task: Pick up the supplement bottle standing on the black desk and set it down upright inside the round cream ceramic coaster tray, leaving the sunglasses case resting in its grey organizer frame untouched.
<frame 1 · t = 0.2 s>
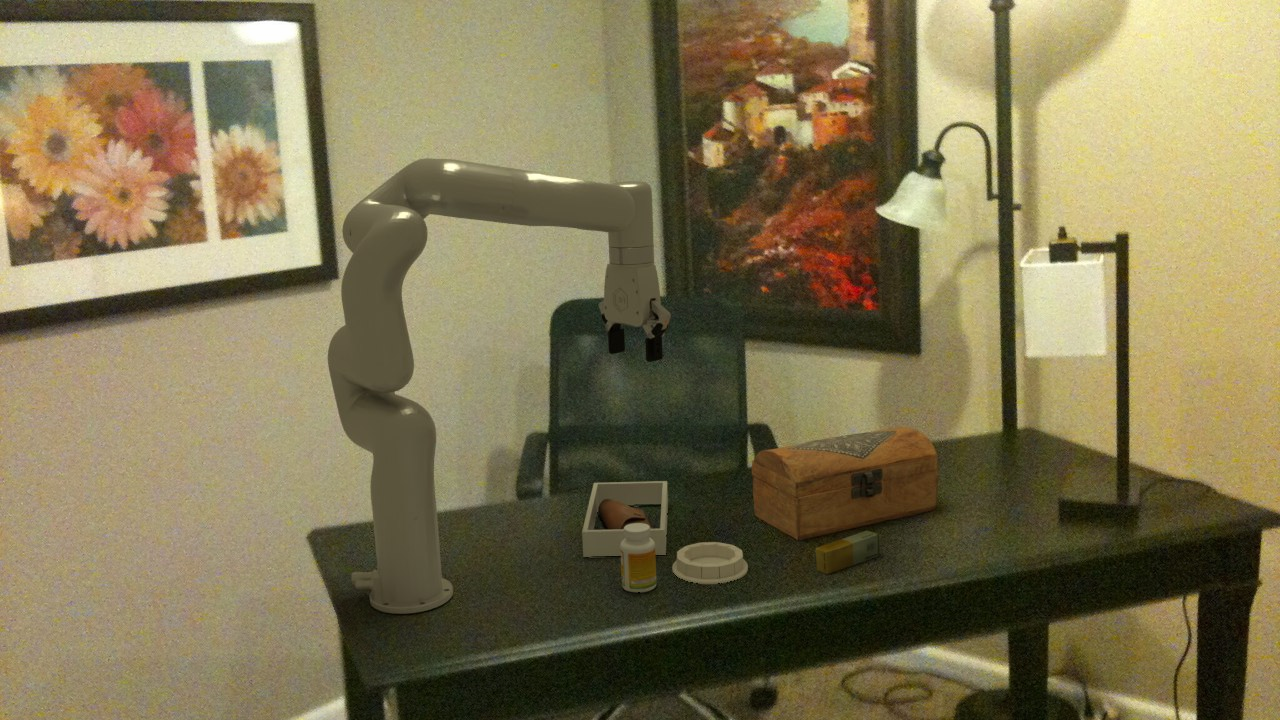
hand: (635, 356, 204), 31 cm above the table, tool pointing down, fingers open, 9 cm apart
supplement bottle: (639, 587, 186), on the table
sunglasses case: (629, 533, 211), resting in organizer frame
medication box: (848, 564, 192), on the table
coaster tray: (710, 569, 191), on the table
organizer frame: (628, 529, 210), on the table
wooden box: (846, 515, 215), on the table
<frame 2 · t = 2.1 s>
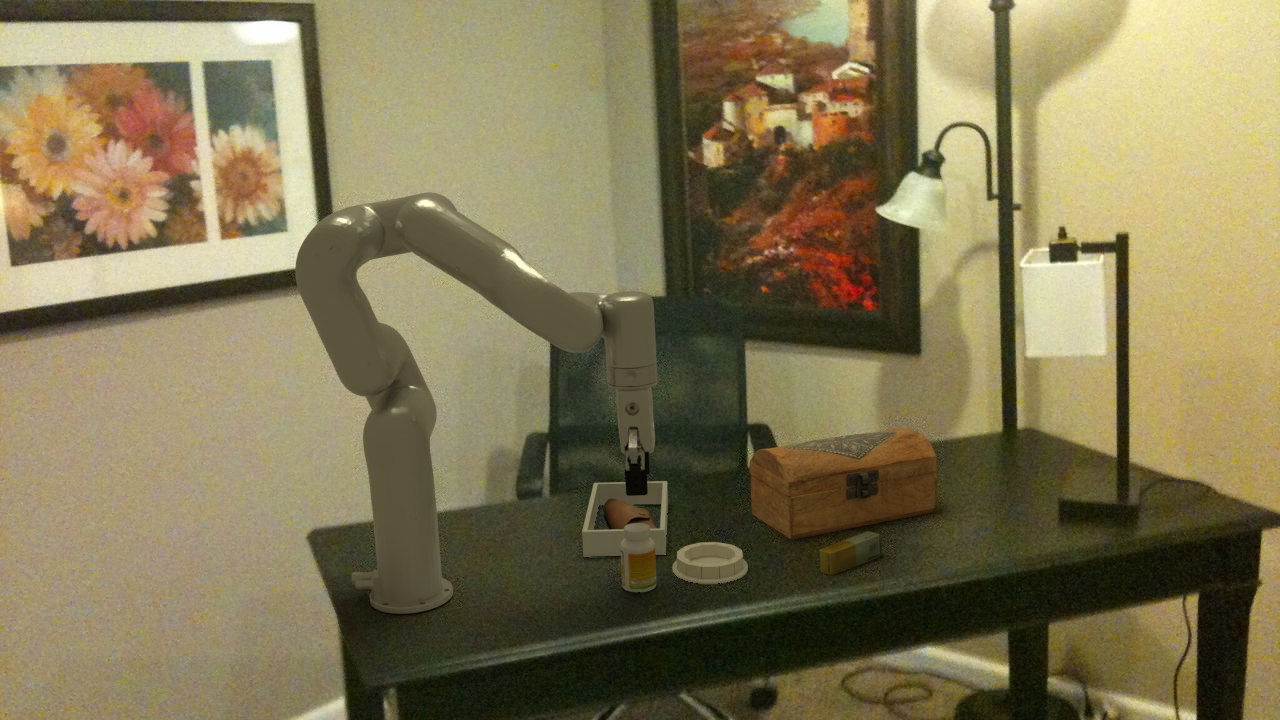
hand: (638, 484, 182), 16 cm above the table, tool pointing down, fingers open, 9 cm apart
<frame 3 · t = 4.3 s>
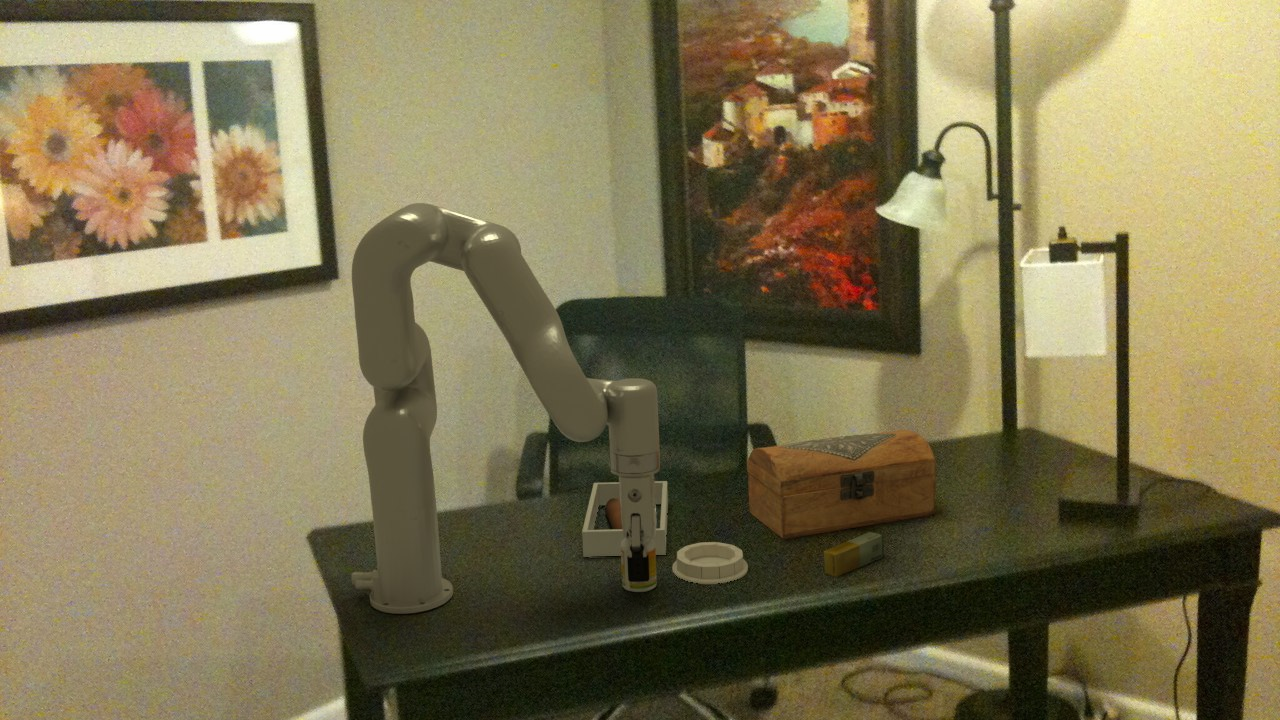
hand: (639, 571, 185), 2 cm above the table, tool pointing down, fingers closed on supplement bottle, 5 cm apart
supplement bottle: (639, 587, 186), on the table, touching gripper
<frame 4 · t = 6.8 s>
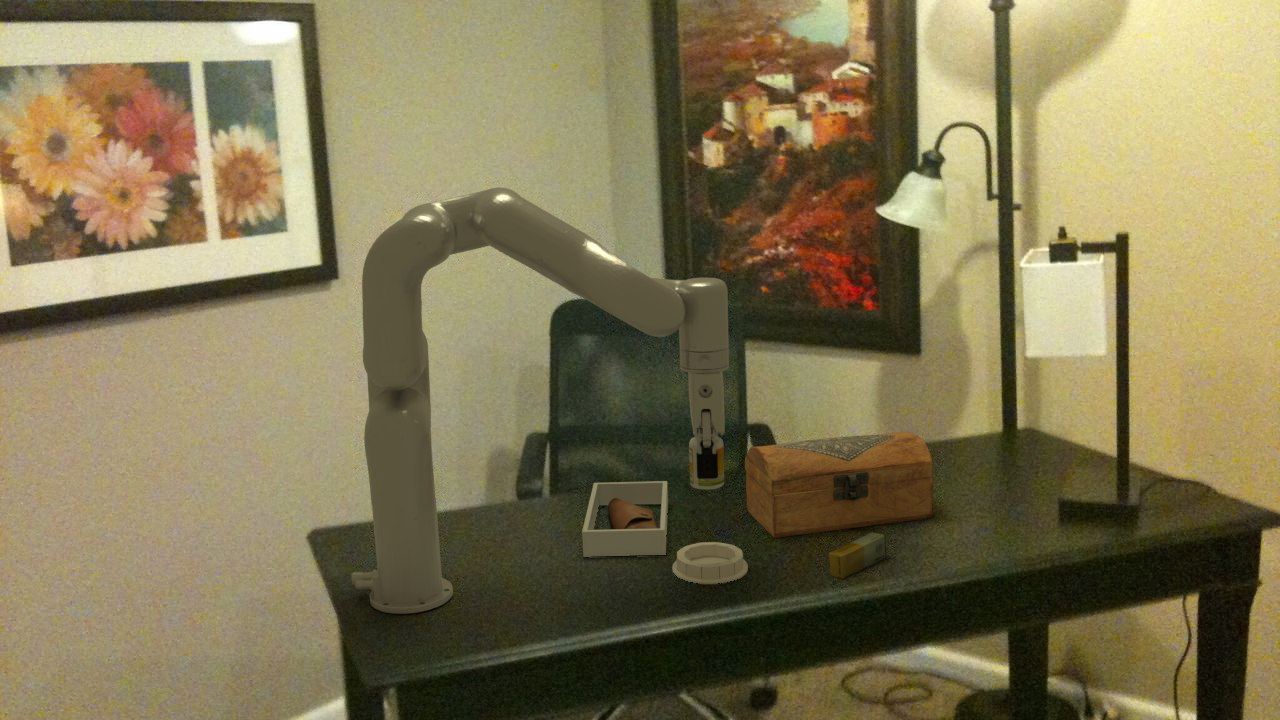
hand: (707, 470, 188), 16 cm above the table, tool pointing down, fingers closed on supplement bottle, 5 cm apart
supplement bottle: (707, 486, 188), point 14 cm above the table, touching gripper
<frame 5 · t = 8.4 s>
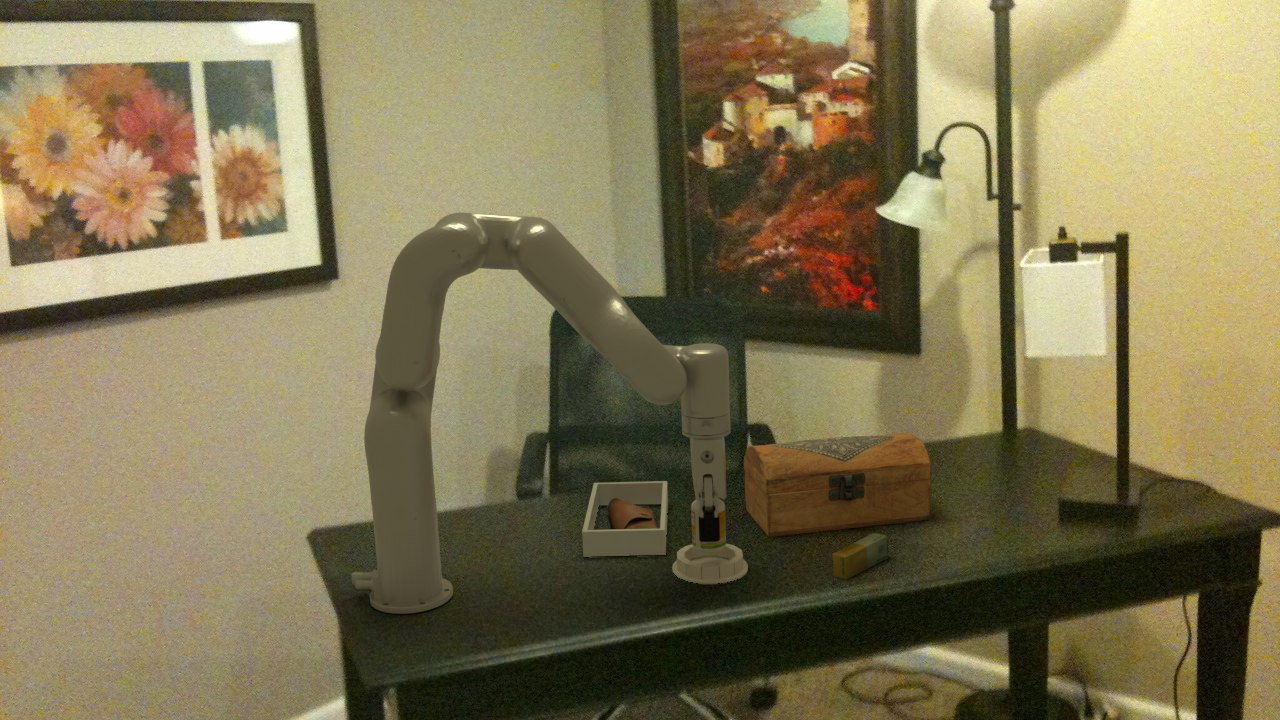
hand: (709, 532, 190), 6 cm above the table, tool pointing down, fingers closed on supplement bottle, 5 cm apart
supplement bottle: (709, 547, 191), point 4 cm above the table, touching gripper
when the fingers open (4 cm above the table, at t = 9.7 s): supplement bottle drops 1 cm, resting on coaster tray.
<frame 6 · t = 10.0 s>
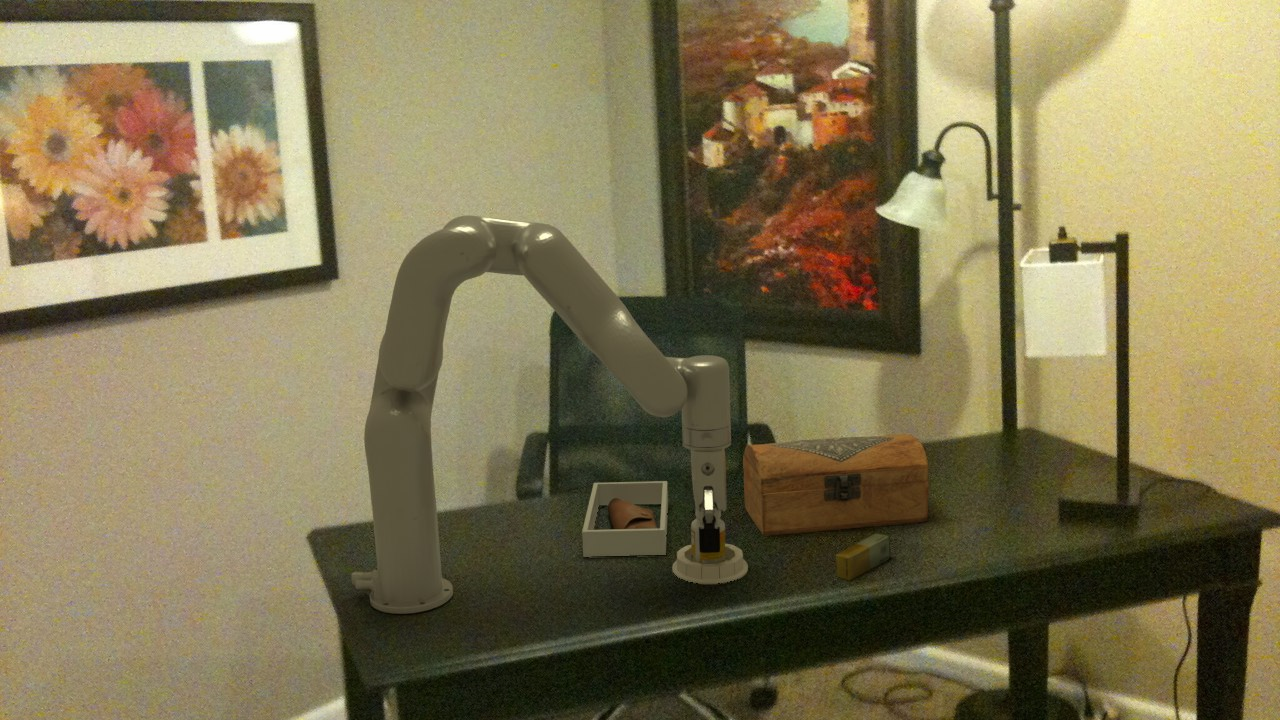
hand: (709, 541, 190), 5 cm above the table, tool pointing down, fingers open, 8 cm apart
supplement bottle: (708, 566, 191), resting on coaster tray
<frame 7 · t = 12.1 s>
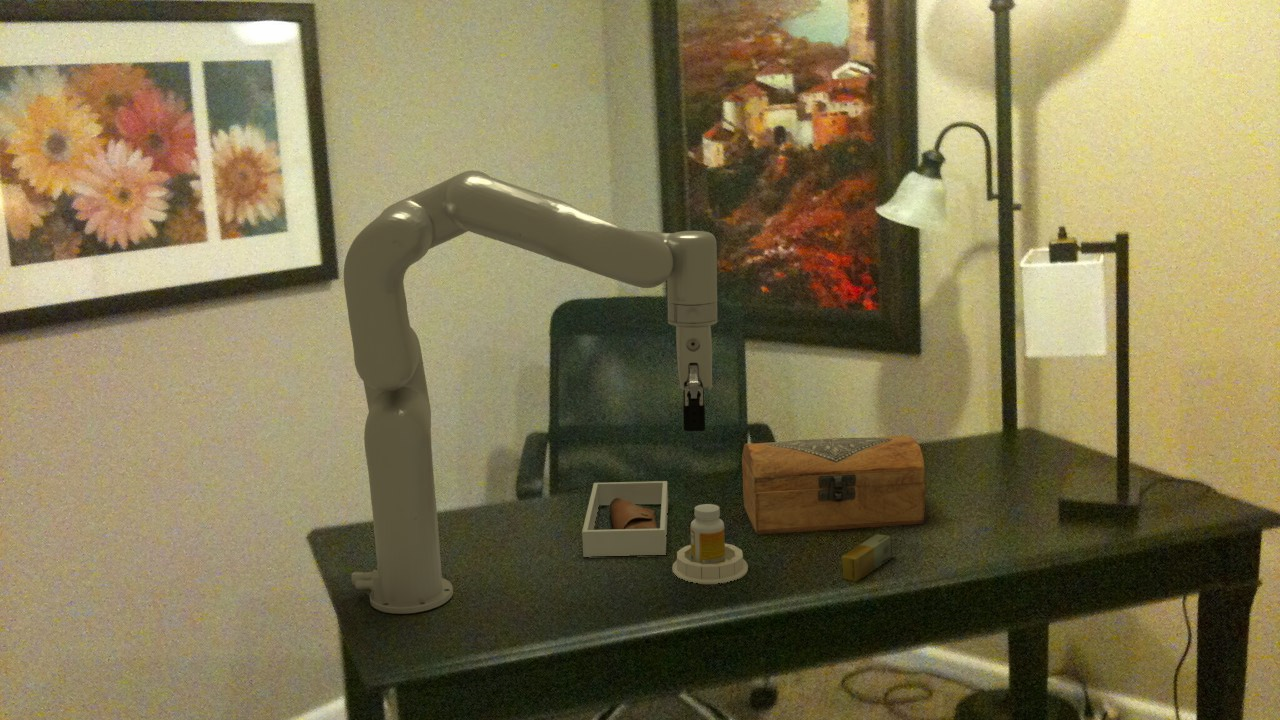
hand: (694, 422, 186), 25 cm above the table, tool pointing down, fingers open, 9 cm apart
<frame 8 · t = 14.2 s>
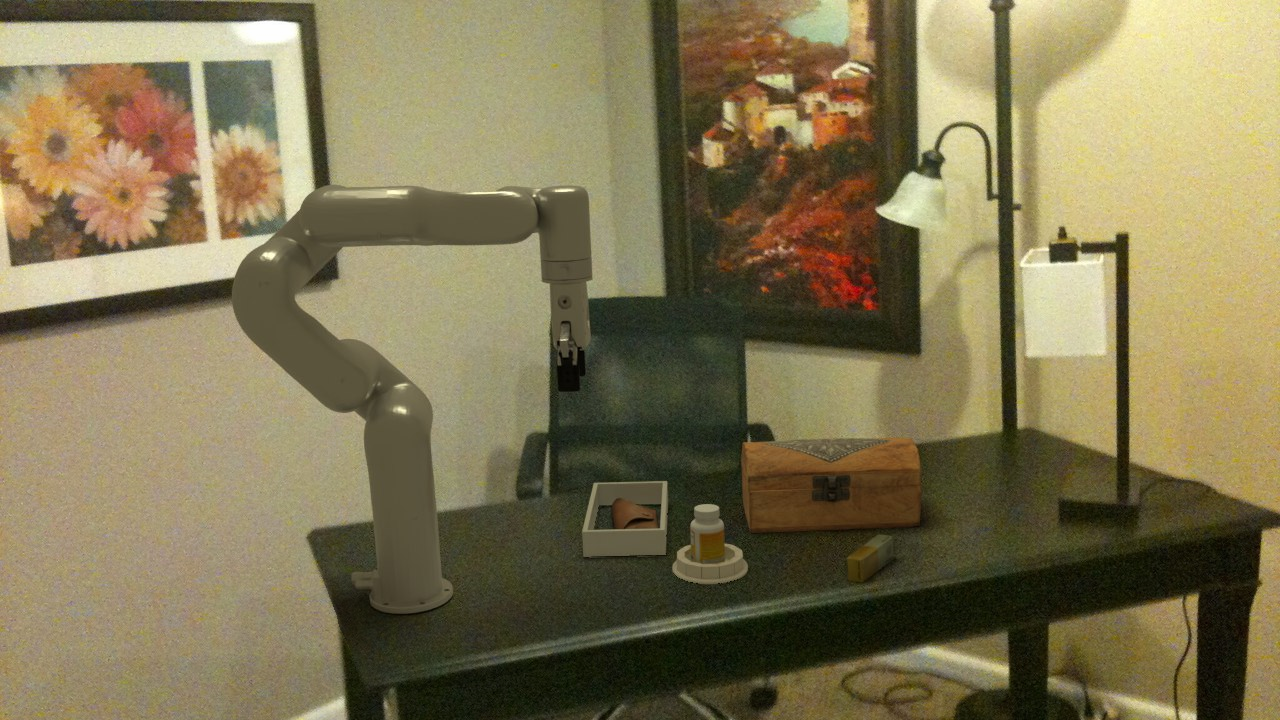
hand: (572, 383, 180), 32 cm above the table, tool pointing down, fingers open, 9 cm apart
at the end: supplement bottle 0.3 cm from the coaster tray (horizontally); supplement bottle resting on coaster tray; supplement bottle tilted 1° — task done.
